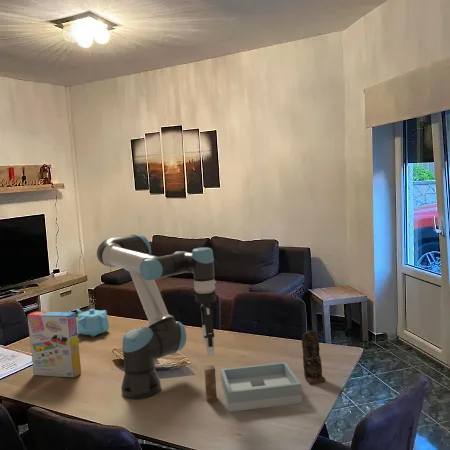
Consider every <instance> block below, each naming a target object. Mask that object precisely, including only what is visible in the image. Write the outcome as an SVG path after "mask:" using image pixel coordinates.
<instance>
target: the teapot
mask: <svg viewBox="0 0 450 450" xmlns="http://www.w3.org/2000/svg"><path fill="white" fill-rule="evenodd" d="M75 310H76V311H77V313H78V314H77V319H76V324H77V333H78V334H82V336H90V337H91V338H94V337H96V336H97V335H100V334H104V333H105V332H107V331H109V328H110V323H109V317H108V311H107V310H105V309H103V310H100V309H99V310H98V309H95V308H90V309H88V310H86V311H82V310H81V309H79V308H77V309H75Z"/></svg>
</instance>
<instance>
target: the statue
mask: <svg viewBox="0 0 450 450" xmlns="http://www.w3.org/2000/svg"><path fill="white" fill-rule="evenodd" d="M301 345H302V361H303V363H302V364H303V373H304V375H303V376H304V379H305V380H306V382H307V383H308V385H318V384H321V383H325V382H326V378H325V377H324V376H323V368H322V367H323V366H322V365H323V364H322V358H321V356H320V350H321V349H320V341H319V335H318V333H317V331H315V330H308V331H306V332H304V334H303V335H302V337H301Z"/></svg>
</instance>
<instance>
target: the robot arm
mask: <svg viewBox="0 0 450 450" xmlns="http://www.w3.org/2000/svg"><path fill="white" fill-rule="evenodd" d="M96 258H97V261H99V262H100V264H102V265H103V266H105V267H108V268H116V267H117V268H121V269H124V270H125V271H128V273H129V274H130V277H131V279H132V282H133V284H134V287H135V290H136V292H137V295H138V297H139V300H140V303H141V305H142V307H143V311H144V312H145V315H146V318H147V320H148V325H147V327H146V326H145V327H143V326H142V327H137V328H134V329H131V330H129V331H128V332H126V333H125V334H124V336H122V344H121V345H122V347H121V348H122V355H123V356H122V357H123V367H124V374H123V379H122V382H121V394H122V396H123V397H124V398H127V399H130V400H131V399H132V400H133V399H134V400H139V399H141V400H142V399H147V398H149V397H152V396H155V395H157V393H160V390H161V389H162V386H161V385H162V384H161V380H160V378H159V374H158V373H157V371H156V367H155V366H156V365H155V364H156V363H155V362H156V360H158V359H161V358H163V357H166V356H169V355H172V354H175V353H177V352H179V351H181V350H183V349H184V348H185V346H186V342H187V330H186V327H185V326H184V324H183V323H182V322H181V321H176V318H175V316H173V315H171V314H169V311H168V309H167V307H166V304H165V301H164V300H163V297H162V294H161V292H160V290H159V288H158V285H157V283H156V281H155V280H159V279H162V278H168V277H171V276H176V275H179V274H184V273H190V274H192V275H193V287H194V288H193V289H194V301H195V303H197V304H198V305H200V314H201V319H200V320H201V324H202V326H201V327H202V329H201V330H202V342H203V343H205V346H206V356H207V357H208V356H215V355H216V351H215V339H214V338H215V332H214V331H215V330H214V323H213V307H212V305H211V304H212V303H215V302H216V300H217V294H216V284H217V280H215V278H216V277H215V262H214V261H215V258H214V252H213V249H212V248H211V247H197V248H193V249H192V250H191V251H190V252H189V251H184V250H182V251H181V250H180V251H179V250H178V251H175V252H174V253H172V254H168V255H161V256H157V255H152V245H151V243H150V241H149V239H148V238H147V237H146V236H145V235H142V234H129V235H123V236H117V237H109V238H106V239H104V240H103V241H102V242H101V243H99V245H98V247H97V250H96Z"/></svg>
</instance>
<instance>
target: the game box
mask: <svg viewBox="0 0 450 450" xmlns="http://www.w3.org/2000/svg"><path fill="white" fill-rule="evenodd" d="M76 315H77V314H76V311H75V312H74V311H71V312H70V311H33V312H30V313H29V314H27V315H26V316H27V324H28V325H27V326H28V333H29V334H28V335H29V342H30V343H29V344H30V352H31V360H32V370H33V376H44V377H56V378H57V377H58V378H73V379H74V378H76V377H78V376H79V375H80V374H81V373H82V367H81V356H80V346H79V337H78V335H79V333H78V329H77V317H76Z"/></svg>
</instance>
